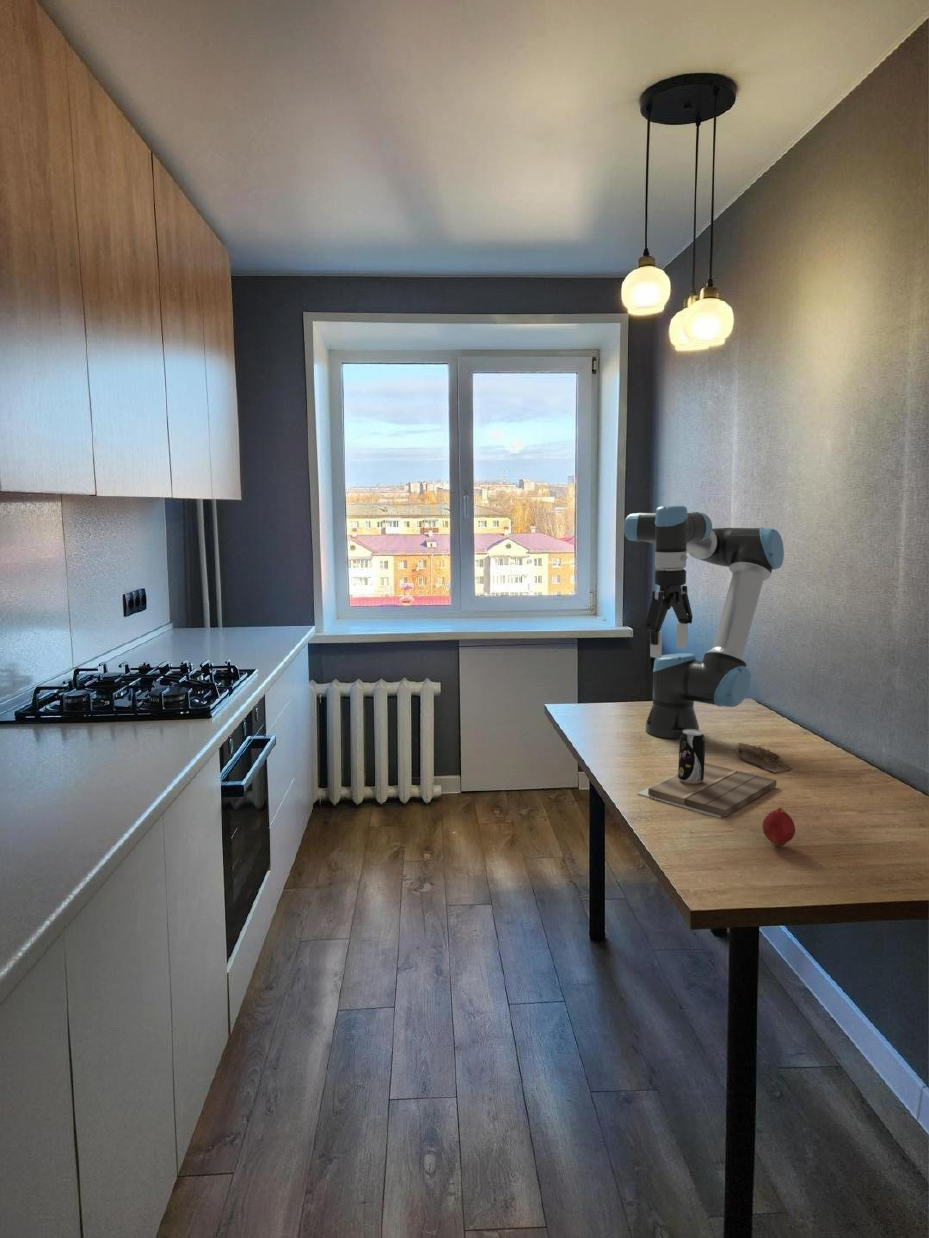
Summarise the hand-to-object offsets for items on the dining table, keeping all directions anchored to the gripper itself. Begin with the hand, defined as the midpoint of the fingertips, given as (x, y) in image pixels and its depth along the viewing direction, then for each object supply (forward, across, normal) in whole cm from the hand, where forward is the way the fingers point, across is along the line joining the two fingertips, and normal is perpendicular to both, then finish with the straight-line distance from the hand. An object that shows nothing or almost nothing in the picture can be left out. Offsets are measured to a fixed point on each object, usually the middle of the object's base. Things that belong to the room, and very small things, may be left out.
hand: (669, 652), depth 194 cm
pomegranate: (+28, -32, -40) cm, 59 cm away
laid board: (+28, -13, -23) cm, 39 cm away
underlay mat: (+28, -12, -16) cm, 35 cm away
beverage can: (+27, -14, -13) cm, 33 cm away
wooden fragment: (+30, +20, -16) cm, 39 cm away
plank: (+28, -12, -13) cm, 33 cm away
